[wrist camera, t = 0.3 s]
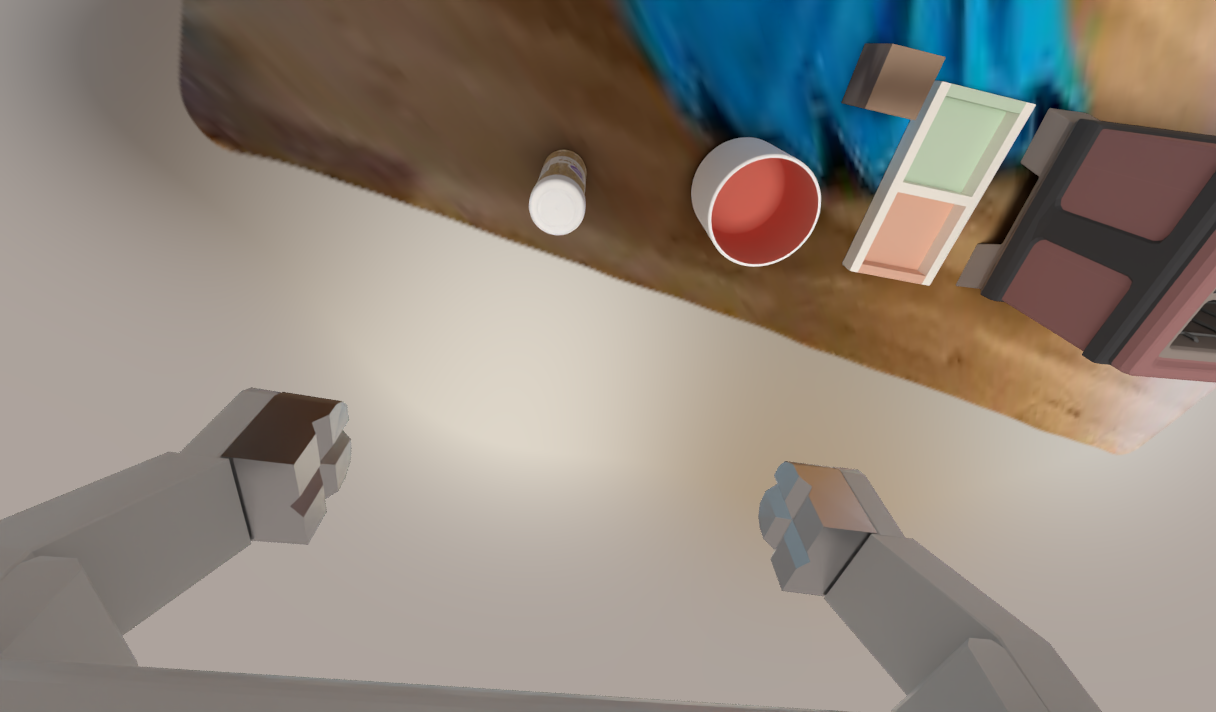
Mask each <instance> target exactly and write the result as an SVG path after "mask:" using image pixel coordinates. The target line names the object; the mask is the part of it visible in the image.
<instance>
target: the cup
mask: <svg viewBox="0 0 1216 712" xmlns="http://www.w3.org/2000/svg"><path fill="white" fill-rule="evenodd" d="M691 199H692V205H693V209H694V211H695V214H696V216H697V218H698V219H699V221H700V222H701V224H702V226H703V227H704V229H705V231H706V232H707V234H708V236H709V237H710V239H711V240H712V242H713V244H714V245H715V247H716V248H717V250H718V251H719V252H720V253H721V254H722V255H723V256H724V257H726V258H727V259H729V260H730V261H732V262H734V263H737V264H740V265H744V266H753V267H754V266H765V265H769V264H773V263H776V262H778V261H781V260H783V259H785V258H786V257H788V256H790V255H791V254H792V253H794V252H795V251H796V250H797V249H798V248H800V247H801V246H802V245H803V243H804V242H805V241H806V240H807V239H808V237H809V236H810V234H811V233H812V231H813V229H814V227H815V225H816V223H817V220H818V217H819V213H820V208H821V193H820V188H819V184H818V182H817V179H816V177H815V176H814V174H813V172H812V171H811V170H810V169H809V168H808V167H807V166H806V165H805V164H804V163H803V162H801V161H800V160H798V159H796V158H795V157H793V156H791V155H789V154H787V153H786V152H784V151H782V150H780V149H779V148H777V147H775V146H773V145H772V144H770V143H768V142H766V141H764V140H761V139H758V138H752V137H742V138H736V139H732V140H729V141H727V142H724V143H722V144H721V145H719V146H717V147H716V148H715V149H713V150H712V151H711V152H710V153H709V154H708V155H707V156H706V157H705V158H704V159H703V161H702V162H701V164H700V165H699V167H698V169H697V171H696V173H695V176H694V179H693V183H692V189H691Z"/></svg>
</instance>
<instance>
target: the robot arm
mask: <svg viewBox="0 0 1216 712" xmlns="http://www.w3.org/2000/svg"><path fill="white" fill-rule="evenodd" d="M348 420H349V416H348V410H347V405H346V404H345V403H344V402H342V401H336V400H331V399H324V398H318V397H311V396H305V395H299V394H292V393H286V392H282V393H281V392H276V391H270V390H263V389H257V388H249V389H246V390H243V391H241V392H240V393H239V394H238V395H237V396H236V397H235V398H234V399H233V400H232V401H231V402H230V403H229V404H228V405H227V406H226V407H225V408H224V409H223V410H222V411H221V412H220V413H219V414H218V415H217V416H216V417H215V418H214V419H213V420H212V421H211V422H210V423H209V424H208V425H207V426H206V427H205V428H204V429H203V430H202V431H201V432H200V433H199V434H198V435H197V436H196V437H195V438H194V439H193V440H192V441H191V442H190V443H189V444H188V445H187V446H186V447H185V448H184V449H183V450H182V451H181V452H180V453H175V452H167V453H164V454H162V455H159V456H157V457H155V458H152V459H150V460H147V461H145V462H142V463H140V464H138V465H135V466H132V467H130V468H128V469H125V470H123V471H120V472H118V473H115V474H113V475H110V476H108V477H105V478H103V479H100V480H98V481H96V482H93V483H91V484H88V485H85V486H83V487H81V488H78V489H76V490H73V491H71V492H68V493H66V494H63V495H61V496H58V497H56V498H53V499H51V500H49V501H46V502H44V503H41V504H39V505H36V506H34V507H31V508H29V509H26V510H24V511H22V512H19V513H17V514H14V515H12V516H9V517H7V518H4V519H2V520H0V712H845V711H830V710H815V709H798V708H784V707H767V706H751V705H737V704H721V703H706V702H690V701H674V700H659V699H642V698H628V697H612V696H595V695H580V694H564V693H548V692H530V691H516V690H499V689H484V688H467V687H451V686H435V685H421V684H405V683H389V682H373V681H357V680H340V679H326V678H309V677H294V676H278V675H262V674H246V673H230V672H215V671H200V670H182V669H168V668H152V667H138V664H137V661H136V659H135V657H134V655H133V654H132V652H131V650H130V648H129V647H128V645H127V643H126V642H125V640H124V638H123V635H124V634H125V633H127V632H128V631H130V630H131V629H132V628H134V627H135V626H137V625H138V624H139V623H141V622H142V621H144V620H145V619H146V618H148V617H149V616H151V615H152V614H153V613H155V612H156V611H158V610H159V609H160V608H162V607H163V606H165V605H166V604H167V603H169V602H170V601H172V600H173V599H175V598H176V597H177V596H179V595H180V594H181V593H183V592H184V591H186V590H187V589H188V588H190V587H191V586H192V585H194V584H196V583H197V582H198V581H199V580H201V579H203V578H204V577H205V576H207V575H208V574H210V573H211V572H212V571H214V570H215V569H216V568H218V567H219V566H221V565H222V564H223V563H225V562H226V561H228V560H229V559H231V558H232V557H233V556H235V555H236V554H238V553H239V552H240V551H242V550H243V549H245V548H246V547H247V546H249V545H250V544H251V541H264V542H278V543H292V544H306V545H308V544H309V542H310V540H311V538H312V537H313V535H314V533H315V531H316V529H317V528H318V526H319V524H320V523H321V521H322V519H323V517H324V516H325V514H326V512H327V511H326V503H325V499H326V498H328V497H329V496H331V495H333V494H334V493H336V492H338V491H339V489H340V487H341V485H342V483H343V481H344V479H345V477H346V474H347V471H348V467H349V464H350V459H351V439H350V438H349V437H348V436H347V434H346V433H345V432H344V431H343V428H344V427H345V425H346V424H347V422H348ZM774 476H775V479H776V482H777V484H776V485H775V486H773V487H771V488H770V489H768V490H767V491H765V494H764V496H763V498H762V500H761V502H760V507H759V524H760V530H761V532H762V535H763V539H764V540H765V541H766V542H767V543H768V544H769V545H770V546H771V547H772V548H773V549H774V552H773V555H772V557H771V562H772V564H773V567H774V570H775V572H776V575H777V578H778V581H779V584H780V587H781V589H782V591H787V592H795V593H803V594H811V595H819V596H825V598H824V599H825V600H826V601H827V603H828V604H829V605H830V606H831V607H832V608H833V610H834V611H835V612H836V613H837V614H838V615H839V617H840V618H841V619H842V620H843V621H844V622H845V624H846V625H847V626H848V627H849V628H850V629H851V631H852V632H853V633H854V634H855V635H856V636H857V638H858V639H859V640H860V641H861V642H862V643H863V645H864V646H865V647H866V648H867V649H868V650H869V652H870V653H871V654H872V655H873V656H874V657H875V659H876V660H877V661H878V662H879V663H880V664H881V666H882V667H883V668H884V669H885V670H886V671H887V673H888V674H889V675H890V676H891V677H892V678H893V680H894V681H895V682H896V683H897V684H898V685H899V687H900V688H901V689H902V690H903V691H904V692H905V694H906V695H907V696H906V697H905V698H904V699H903V700H902V701H901V702H900V703H899V704H898V705H897V706H895V707H894V708H893V709H892V711H891V712H1102V711H1101V710H1100V709H1099V707H1098V706H1097V705H1096V703H1095V702H1094V701H1093V699H1092V698H1091V697H1090V695H1089V694H1088V693H1087V692H1086V690H1085V689H1084V688H1083V686H1082V685H1081V684H1080V683H1079V681H1078V680H1077V678H1076V677H1075V676H1074V675H1073V673H1072V672H1071V671H1070V669H1069V668H1068V667H1067V665H1066V664H1065V663H1064V662H1063V660H1062V659H1061V658H1060V656H1059V655H1058V654H1057V653H1056V651H1055V650H1054V648H1053V647H1052V646H1051V644H1050V643H1049V642H1047V641H1046V640H1045V639H1043V638H1042V637H1041V636H1039V635H1038V634H1037V633H1035V632H1034V631H1033V630H1032V629H1030V628H1029V627H1028V626H1026V625H1025V624H1024V623H1022V622H1021V621H1020V620H1019V619H1017V618H1016V617H1015V616H1013V615H1012V614H1011V613H1009V612H1008V611H1007V610H1005V609H1004V608H1003V607H1002V606H1000V605H999V604H998V603H996V602H995V601H994V600H992V599H991V598H990V597H988V596H987V595H986V594H984V593H983V592H982V591H981V590H979V589H978V588H977V587H975V586H974V585H973V584H971V583H970V582H969V581H968V580H966V579H965V578H964V577H962V576H961V575H960V574H958V573H957V572H956V571H954V570H953V569H952V568H951V567H949V566H948V565H946V564H945V563H944V562H942V561H941V560H940V559H939V558H937V557H936V556H935V555H934V554H932V553H931V552H930V551H928V550H927V549H926V548H924V547H923V546H922V545H920V544H919V543H918V542H917V541H915V540H914V539H911V538H905V536H904V535H903V533H902V532H901V530H900V529H899V527H898V526H897V524H896V522H895V521H894V519H893V518H892V516H891V515H890V513H889V512H888V510H887V508H886V507H885V505H884V504H883V502H882V501H881V499H880V498H879V496H878V494H877V493H876V492H875V490H874V488H873V487H872V485H871V484H870V482H869V480H868V479H867V477H866V476H865V475H864V474H863V473H862V472H860V471H859V470H857V469H848V468H839V467H827V466H819V465H812V464H804V463H795V462H788V461H785V462H784V463H782V464H781V465H780V466H779V467H778V469H777V471H776V473H775V475H774Z"/></svg>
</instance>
